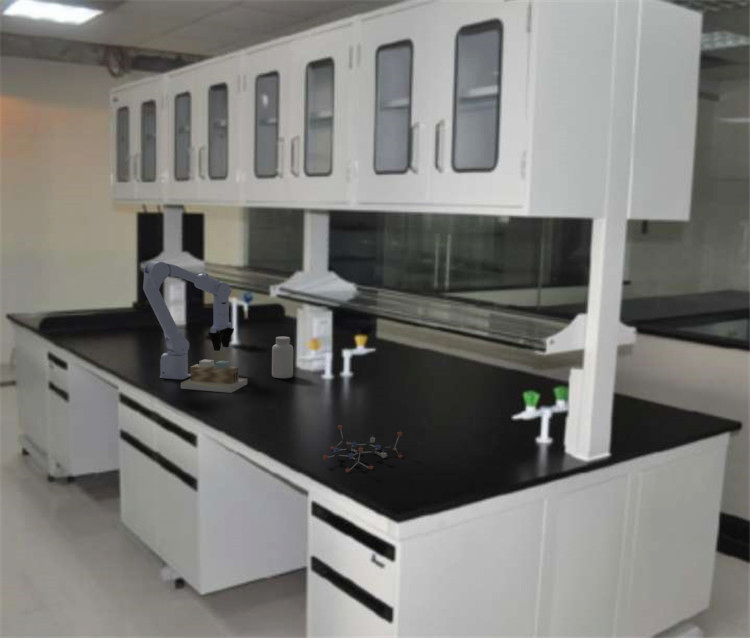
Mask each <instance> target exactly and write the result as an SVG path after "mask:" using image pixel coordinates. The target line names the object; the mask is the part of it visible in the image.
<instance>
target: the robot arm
mask: <svg viewBox="0 0 750 638" xmlns="http://www.w3.org/2000/svg"><path fill="white" fill-rule="evenodd" d="M175 276H176V277H179V278H180V279H182V280H185V281H188V282H191V283H193V284H194V287H195V288H197V289H199V290H202V291H203V292H206V293H209V294H211V295H213V300H212V301H213V302H212V304H213V311H212V312H213V316H212V317H213V324H212V326H210V330H209V331H208V333H207V334H208V337H209V339H210V341H211V343H212V347H213V350H214V351H215V352H216V351H217V352H218V351H219V352H220V351H221V347H223V348H229V346H230V342H231V337H232V335H233V333H234V330H235V328H234V327H233V326H232V321H231V322H230V317H229V316H230V315H229V314H230V302H229V301H230V298H229V297H230V295H231V294H232V289H231V287H230V285H229V284H228V283H227V282H224V281H221V280H220V279H219V278H214V277H213V276H210V275H209V273H207V272H204V273H202V272H201V273H199V274H195V273H194V272H192V271H189V270H186V269H185V268H182V267H181V266H179V265H175V264H170V263H167V262H163V261H159V260H157V259H156V260H155V259H152V260H150V261H149V262H147V263H146V265H145V267H144V269H143V284H142V290H143V292H144V294H145V296H146V298H147V300H148V302H149V305H150V306H151V308H152V311H153V312H154V315H155V316H156V319H157V320H158V322H159V325H160V326H161V329H162V330H163V337H164V338H165V346H166V348H167V349H168V351H167V352H164V353H162V355H161V356H160V361H159V362H160V365H159V366H160V367H159V368H160V375H159V378H160V379H171V380H186V379H187V378H191V373H189V372H188V371H189V369H188V367H189V366H188V364H189V363H188V361H189V360H188V358H189V357H188V351H189V349H190V342H189V340H188V339H187V338H185V337H184V335H183V334H182V332H181V331H180V329H179V328H178V327H177V324H176V321H174V317H173V316H172V314H171V312H170V310H169V308H168V305H167V303H166V301H165V300H164V298H163V295H162V293H161V291H160V288H161V286H162V284H163V282H164V281H165V280H166V279H167V278H168V277H170V278H171V277H175Z"/></svg>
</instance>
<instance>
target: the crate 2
mask: <svg viewBox="0 0 750 638" xmlns="http://www.w3.org/2000/svg"><path fill="white" fill-rule="evenodd" d="M214 365H215V368H220V369H226V368H228V367H231V361H230V360H218V361H216V362H215V361H214Z"/></svg>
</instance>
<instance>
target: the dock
mask: <svg viewBox="0 0 750 638" xmlns="http://www.w3.org/2000/svg"><path fill="white" fill-rule="evenodd" d="M246 385H248V378H246V377H245V378H243V377H238V381H236V382H235V383H233V384H227V383H214V382H202V381H191V378H188V379H185V380H184V381H181V382H180V389H182V390H183V389H184V390H192V391H194V390H195V391H207V392H219V393H229V394H232V393H234V392H235V391H237V390H239V389H241V388H242V387H243V388H244V387H245V386H246Z"/></svg>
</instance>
